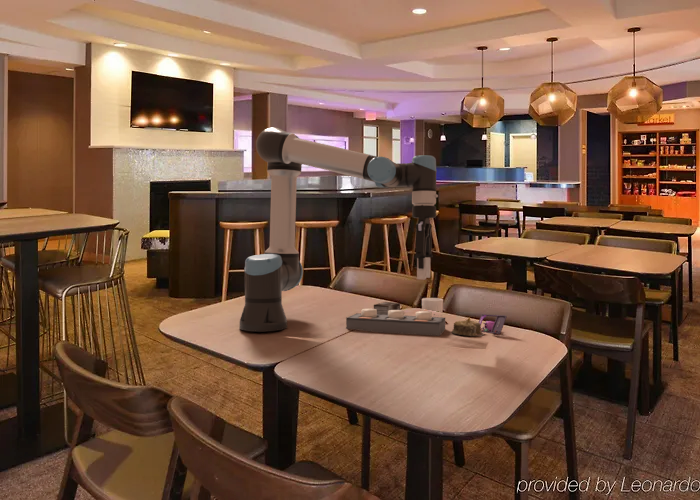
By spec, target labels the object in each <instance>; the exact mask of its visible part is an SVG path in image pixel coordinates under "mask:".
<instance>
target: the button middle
mask: <svg viewBox="0 0 700 500" xmlns="http://www.w3.org/2000/svg"><path fill="white" fill-rule="evenodd" d="M404 316H405V310H403V309H400V310H389V311H388V318H391V319H402V320H403V319H404Z"/></svg>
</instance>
